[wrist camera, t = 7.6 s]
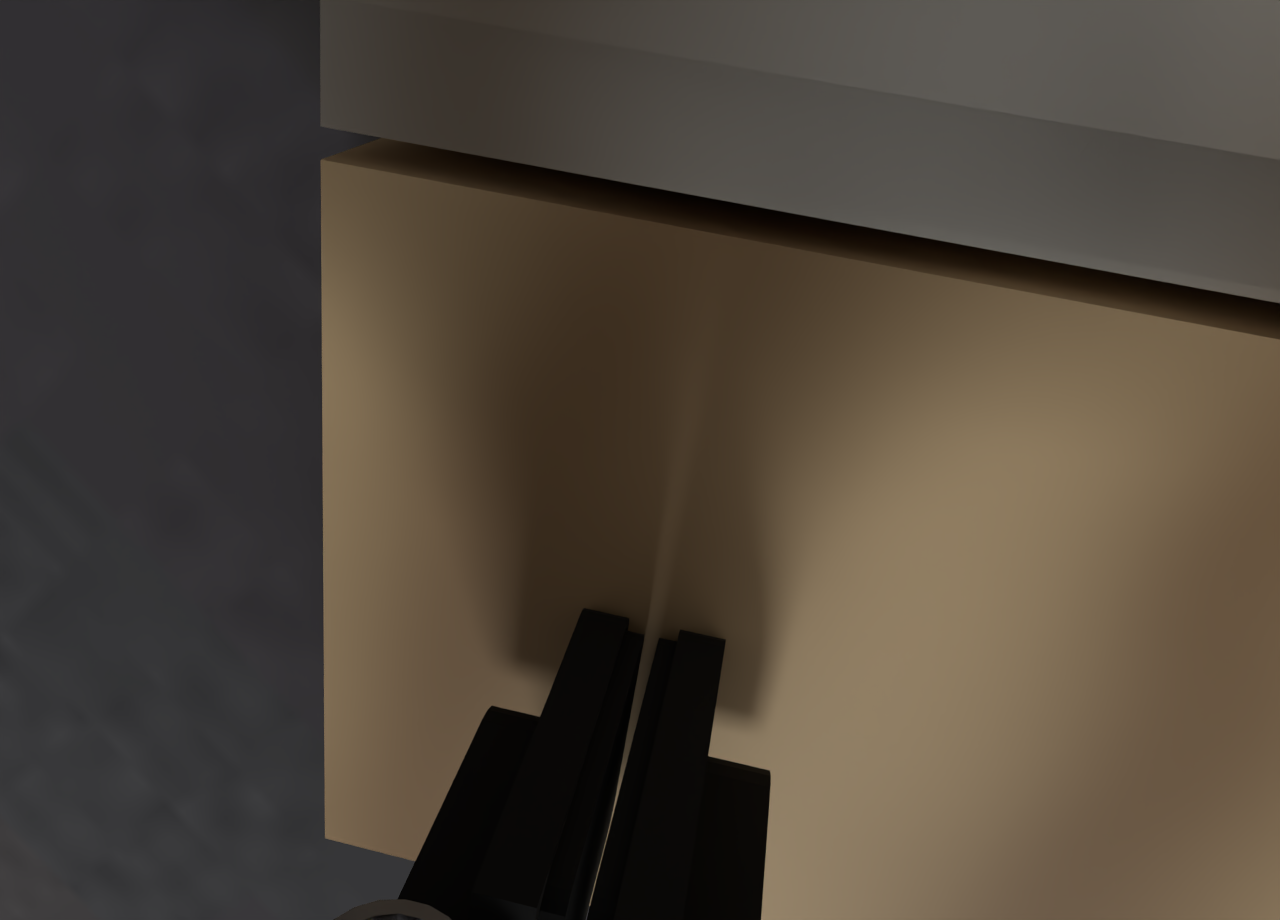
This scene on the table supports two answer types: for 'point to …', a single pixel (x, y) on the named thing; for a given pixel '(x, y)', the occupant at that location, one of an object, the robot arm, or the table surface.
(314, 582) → the table surface
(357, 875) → the table surface
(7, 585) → the table surface
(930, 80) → the laid plank
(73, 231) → the table surface
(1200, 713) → the oak plank
